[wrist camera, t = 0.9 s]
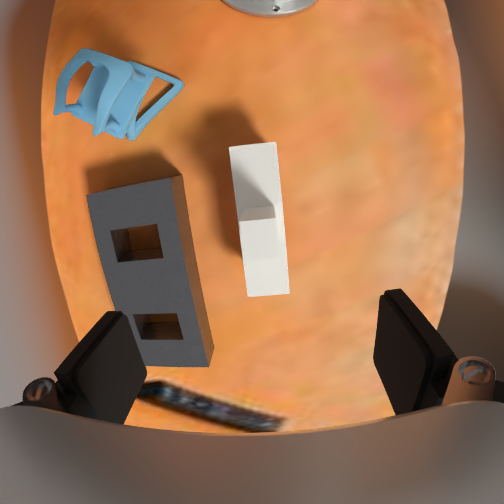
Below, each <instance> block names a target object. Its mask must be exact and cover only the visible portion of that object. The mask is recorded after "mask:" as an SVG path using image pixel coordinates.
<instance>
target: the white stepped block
mask: <svg viewBox="0 0 504 504" xmlns="http://www.w3.org/2000/svg"><path fill="white" fill-rule="evenodd" d="M229 153H230V161H231V169H232V178H233V186H234V194H235V202H236V209H237V217H238V225H239V233H240V241H241V248H242V256H243V264H244V271H245V279H246V286H247V294H248V297H253V296H266V295H278V294H289V279H288V265H287V252H286V240H285V228H284V217H283V206H282V195H281V185H280V175H279V166H278V156H277V147H276V142H269V143H259V144H250V145H241V146H233V147H229Z"/></svg>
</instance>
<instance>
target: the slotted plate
mask: <svg viewBox="0 0 504 504" xmlns="http://www.w3.org/2000/svg"><path fill="white" fill-rule="evenodd" d="M86 196H87V202H88V207H89V212H90V217H91V222H92V226H93V231H94V235H95V239H96V244H97V248H98V252H99V256H100V259H101V263H102V267H103V271H104V274H105V278H106V281H107V285H108V288H109V291H110V294H111V298H112V301H113V304H114V307H115V310H116V311H121V312H123V314H124V315H126V316H127V317H128V320H129V323H130V326H131V329H132V332H133V335H134V337H135V340H136V343H137V346H138V348H139V351H140V354H141V356H142V359H143V362H144V364H145V366H163V367H209V366H210V362H211V358H212V354H213V350H214V344H213V340H212V335H211V331H210V326H209V322H208V317H207V312H206V308H205V303H204V298H203V293H202V288H201V283H200V278H199V272H198V267H197V262H196V256H195V251H194V245H193V239H192V233H191V228H190V222H189V215H188V209H187V203H186V196H185V190H184V183H183V176H182V175H178V176H172V177H166V178H160V179H155V180H149V181H144V182H139V183H134V184H129V185H124V186H119V187H115V188H110V189H105V190H102V191H98V192H95V193H92V194H88V195H86ZM151 224H157V227H158V232H159V237H160V242H161V248H152V249H143V250H133V251H132V247H131V242H130V238H129V233H128V229H127V228H130V227H137V226H144V225H151ZM163 313H177V316H178V320H179V322H159V323H152V322H151V319H150V316H149V314H163Z"/></svg>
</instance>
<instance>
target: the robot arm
mask: <svg viewBox="0 0 504 504" xmlns="http://www.w3.org/2000/svg"><path fill="white" fill-rule="evenodd" d="M222 1H223V2H224V3H226V4H227V5H228V6H230V7H231V8H233V9H235V10H237V11H239V12H242V13H245V14H248V15H253V16H258V17H283V16H289V15H293V14H296V13H299V12H302V11H304V10H306V9H308V8H309V7H311V6H312V5H313V4H315V3H316V2H317V0H222ZM274 10H277V11H274ZM373 359H374V364H375V367H376V369H377V371H378V374H379V376H380V378H381V381H382V383H383V385H384V388H385V390H386V392H387V395H388V397H389V400H390V402H391V405H392V407H393V410H394V412H395V416H391V417H386V418H381V419H376V420H371V421H365V422H359V423H353V424H347V425H341V426H334V427H327V428H319V429H310V430H299V431H286V432H269V433H201V432H184V431H172V430H161V429H152V428H144V427H137V426H130V425H123V424H124V422H125V420H126V418H127V416H128V413H129V411H130V409H131V407H132V405H133V403H134V401H135V399H136V397H137V395H138V393H139V391H140V389H141V387H142V385H143V383H144V381H145V379H146V376H147V370H146V367H145V364H144V362H143V359H142V356H141V354H140V351H139V348H138V346H137V343H136V340H135V337H134V335H133V332H132V329H131V326H130V323H129V320H128V317H127V316H126V315H124V314H123V312H121V311H107V312H106V313H105V314H104V315H103V316H102V318H101V319H100V320H99V321H98V322H97V323H96V324H95V325H94V326H93V328H92V329H91V330H90V331H89V332H88V333H87V334H86V335H85V337H84V338H83V339H82V340H81V341H80V342H79V343H78V345H77V346H76V347H75V348H74V349H73V350H72V352H71V353H70V354H69V355H68V356H67V357H66V359H65V360H64V361H63V362H62V363H61V365H60V366H59V367H58V368H57V369H56V371H55V372H54V374H55V376H56V377H57V379H58V381H57V382H56V383H55V381H54V380H53V379H51V378H48V377H42V378H38V379H36V380H34V381H32V382H31V383H29V384H28V386H26V388H25V389H24V391H23V402H20V403H17V404H15V405H12V406H9V407H4V408H0V504H504V382H500V381H497V380H495V378H496V375H495V370H494V368H493V366H492V365H491V364H490V363H489V362H488V361H486V360H484V359H482V358H479V357H465V358H462V359H460V360H458V359H457V357H456V356H455V355H454V352H453V351H452V350H451V348H450V347H449V346H448V345H447V343H446V342H445V341H444V339H443V338H442V337H441V336H440V334H439V333H438V332H437V331H436V329H435V328H434V327H433V326H432V325H431V323H430V322H429V321H428V320H427V318H426V317H425V316H424V315H423V314H422V312H421V311H420V310H419V309H418V308H417V307H416V305H415V304H414V303H413V302H412V301H411V300H410V298H409V297H408V296H407V295H406V294H405V293H404V292H403V290H402V289H393V290H386V291H385V293H384V295H381V296H380V300H379V311H378V321H377V330H376V339H375V347H374V354H373Z"/></svg>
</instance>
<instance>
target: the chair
mask: <svg viewBox="0 0 504 504" xmlns="http://www.w3.org/2000/svg"><path fill="white" fill-rule="evenodd" d="M86 62H89V63H90V64H91V65H93V66H94V68H93V70H92V72H91V74H90V77H89V79H88V81H87V83H86V85H85V87H84V89H83V91H82V93H81V95H80V97H79V99H78V101H77V103H76V104H69V105H65V103H66V93H67V88H68V85H69V82H70V80H71V78H72V76H73V75H74V74H75V72H76V71H77V70H78V69H79V68H80V67H81V66H82V65H83V64H85V63H86ZM155 77H158V78H160V79H163V80H165V81H167V82H170V83H172V84H173V85H174V87H173V88H171V89H170V90H169V91H168V92H167V93H166V94H165V95H164V96H163V97H162V98H160V99H159V100H158V101H157V102H156V103H155V104H154V105H153V106H152V107H151V108H150V109H149V110H147V111H146V112H145V113H144V114H143V115H142V116H141V117H140V118H139V119H138V120H137V121H136V116H137V113H138V110H139V107H140V105H141V102H142V100H143V98H144V95H145V94H146V92H147V90H148V89H149V87H150V85H151V84H152V82H153V80H154V78H155ZM183 87H184V83H183V82H182V81H181V80H179V79H176V78H174V77H172V76H169V75H167V74H164V73H162V72H159V71H157V70H154V69H152V68H149V67H146V66H144V65H141V64H138V63H136V62H133V61H128V62H125V61H123V60H120V59H118V58H115V57H112V56H110V55H107V54H104V53H101V52H98V51H95V50H91V49H87V48H82V49H81V50H80V51H79V52H78V53H77V54H76V55H75V56H74V57H73V58H72V59H71V60H70V61H69V62H68V64H67V65H66V66H65V67H64V69H63V70H62V72H61V74H60V76H59V78H58V82H57V87H56V102H55V108H54V113H53V114H54V115H58V114H60V113H63V112H72V114H71V115H73V116H75V117H77V118H79V119H81V120H83V121H85V122H88V123H90V124H92V125H94V128H93V135H94V136H96V135H98V134H100V133H102V132H104V131H105V132H107V133H109V134H111V135H113V136H115V137H117V138H119V139H123V138H124V136H125V134H126V137H127V139H128V140H131V141H134V140H135V139H136V138H137V137H138V135H139V134H140V133H141V131H142V130H143V129H144V128H145V127H146V125H147V124H148V123H149V122H150V121H151V120H152V119H153V118H154V117H155V116H156V115H157V114H158V113H159V112H160V111H161V110H162V109H163V108H164V107H165V106H166V105H167V104H168V103H169V102H170V101H171V100H172V99H173V98H174V97H175V96H176V95H177V94H178V93H179V92H180V91H181V90H182V88H183ZM135 122H136V123H135Z"/></svg>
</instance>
